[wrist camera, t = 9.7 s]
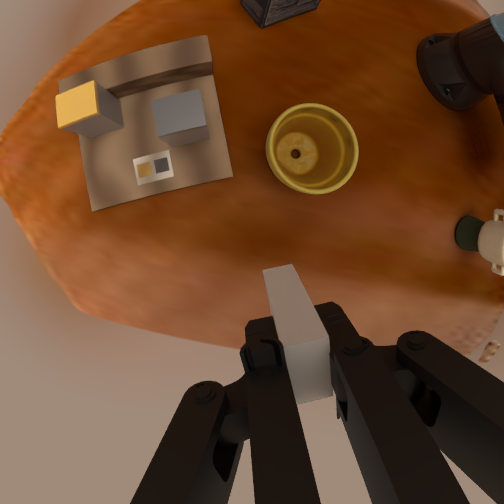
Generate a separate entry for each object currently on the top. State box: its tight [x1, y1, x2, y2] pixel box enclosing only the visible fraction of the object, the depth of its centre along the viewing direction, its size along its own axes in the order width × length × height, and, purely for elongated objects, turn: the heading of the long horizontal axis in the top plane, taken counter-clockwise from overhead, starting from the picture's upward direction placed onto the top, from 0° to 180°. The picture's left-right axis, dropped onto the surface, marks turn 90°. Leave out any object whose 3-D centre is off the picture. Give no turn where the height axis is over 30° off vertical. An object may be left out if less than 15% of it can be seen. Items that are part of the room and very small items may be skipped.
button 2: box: [56, 80, 124, 138], centre depth 30 cm, size 5×4×10 cm
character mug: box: [456, 209, 504, 276], centre depth 40 cm, size 11×7×13 cm, turn 9°
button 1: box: [151, 89, 210, 147], centre depth 32 cm, size 5×4×10 cm
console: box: [59, 35, 233, 212], centre depth 34 cm, size 20×19×6 cm
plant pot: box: [266, 103, 359, 194], centre depth 36 cm, size 10×10×10 cm
